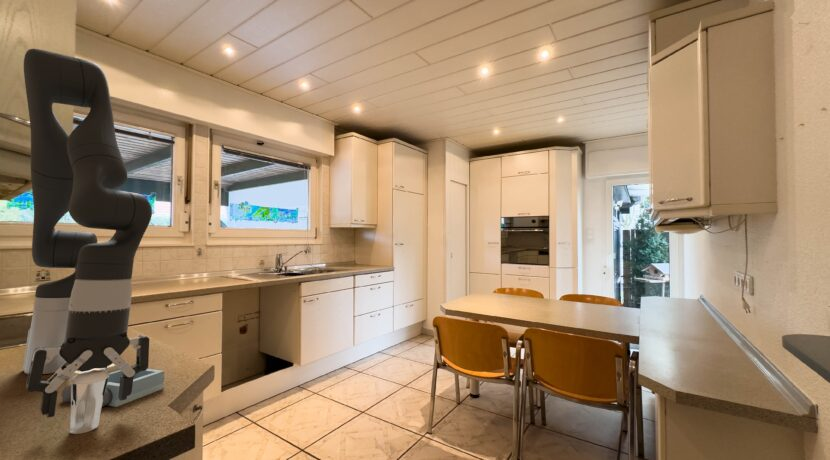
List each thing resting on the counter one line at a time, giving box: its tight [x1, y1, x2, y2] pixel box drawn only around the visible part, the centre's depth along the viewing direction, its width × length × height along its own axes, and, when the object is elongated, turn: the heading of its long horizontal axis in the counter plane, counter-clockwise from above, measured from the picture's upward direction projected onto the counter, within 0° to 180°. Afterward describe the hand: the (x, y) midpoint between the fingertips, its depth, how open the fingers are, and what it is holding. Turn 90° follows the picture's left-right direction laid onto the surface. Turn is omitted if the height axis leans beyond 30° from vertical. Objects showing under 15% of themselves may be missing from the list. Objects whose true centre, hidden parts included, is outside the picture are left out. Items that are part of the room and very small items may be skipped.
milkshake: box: [69, 368, 110, 435], centre depth 54 cm, size 4×5×10 cm
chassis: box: [61, 364, 165, 408], centre depth 67 cm, size 13×11×5 cm
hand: (88, 406), depth 54 cm, fingers open, 8 cm apart
